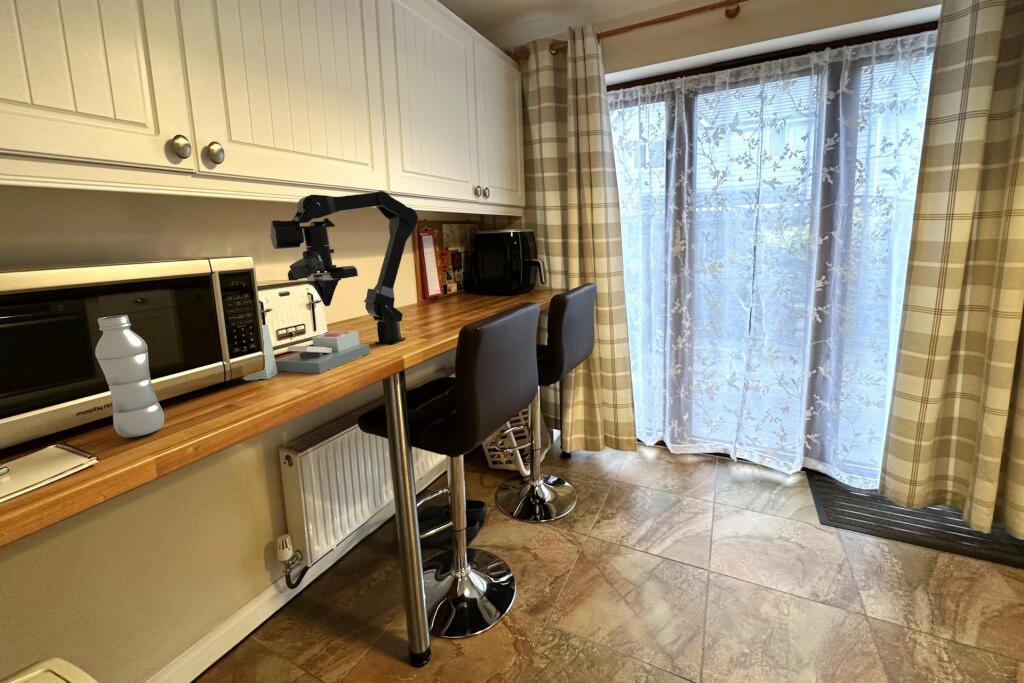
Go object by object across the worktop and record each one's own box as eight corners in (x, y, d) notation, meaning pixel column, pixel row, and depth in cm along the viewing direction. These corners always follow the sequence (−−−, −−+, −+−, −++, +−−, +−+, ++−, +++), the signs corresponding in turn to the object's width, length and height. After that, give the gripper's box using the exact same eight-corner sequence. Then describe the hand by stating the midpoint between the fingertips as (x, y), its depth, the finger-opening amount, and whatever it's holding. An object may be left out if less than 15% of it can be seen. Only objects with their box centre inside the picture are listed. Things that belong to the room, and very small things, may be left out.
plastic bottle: (115, 436, 79) (83, 319, 75) (164, 423, 84) (136, 312, 80) (120, 446, 75) (85, 322, 70) (171, 431, 79) (141, 314, 75)
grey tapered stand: (278, 374, 111) (269, 324, 108) (267, 379, 107) (257, 328, 104) (254, 375, 112) (244, 325, 109) (242, 381, 108) (232, 329, 105)
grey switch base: (329, 352, 130) (325, 330, 129) (370, 353, 125) (367, 331, 124) (275, 371, 114) (271, 346, 113) (320, 373, 109) (315, 348, 108)
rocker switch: (313, 352, 120) (313, 346, 120) (331, 352, 118) (332, 347, 118) (287, 350, 113) (287, 345, 113) (306, 351, 110) (307, 345, 110)
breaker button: (336, 344, 127) (334, 331, 126) (351, 344, 125) (349, 331, 124) (323, 348, 122) (320, 335, 122) (338, 349, 120) (336, 336, 120)
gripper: (265, 250, 118) (276, 311, 122) (322, 245, 111) (333, 311, 115) (299, 247, 128) (309, 304, 132) (354, 243, 121) (363, 303, 125)
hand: (327, 306), depth 125 cm, fingers closed
